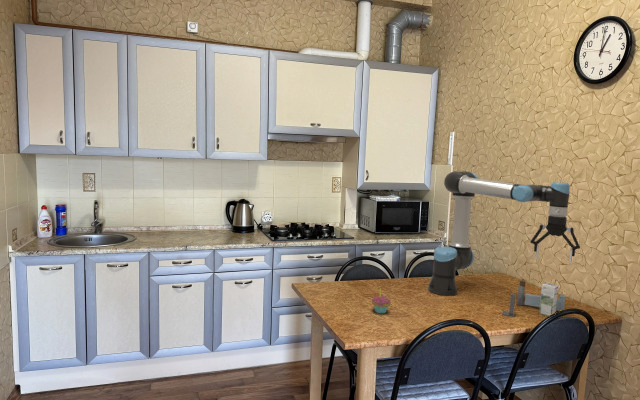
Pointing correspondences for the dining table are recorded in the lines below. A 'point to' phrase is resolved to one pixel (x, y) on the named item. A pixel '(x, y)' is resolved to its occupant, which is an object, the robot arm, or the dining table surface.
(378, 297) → the cupcake
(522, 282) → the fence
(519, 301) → the gate
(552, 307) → the syrup box
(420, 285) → the dining table surface
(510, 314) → the post
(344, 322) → the dining table surface
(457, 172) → the robot arm
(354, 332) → the dining table surface
